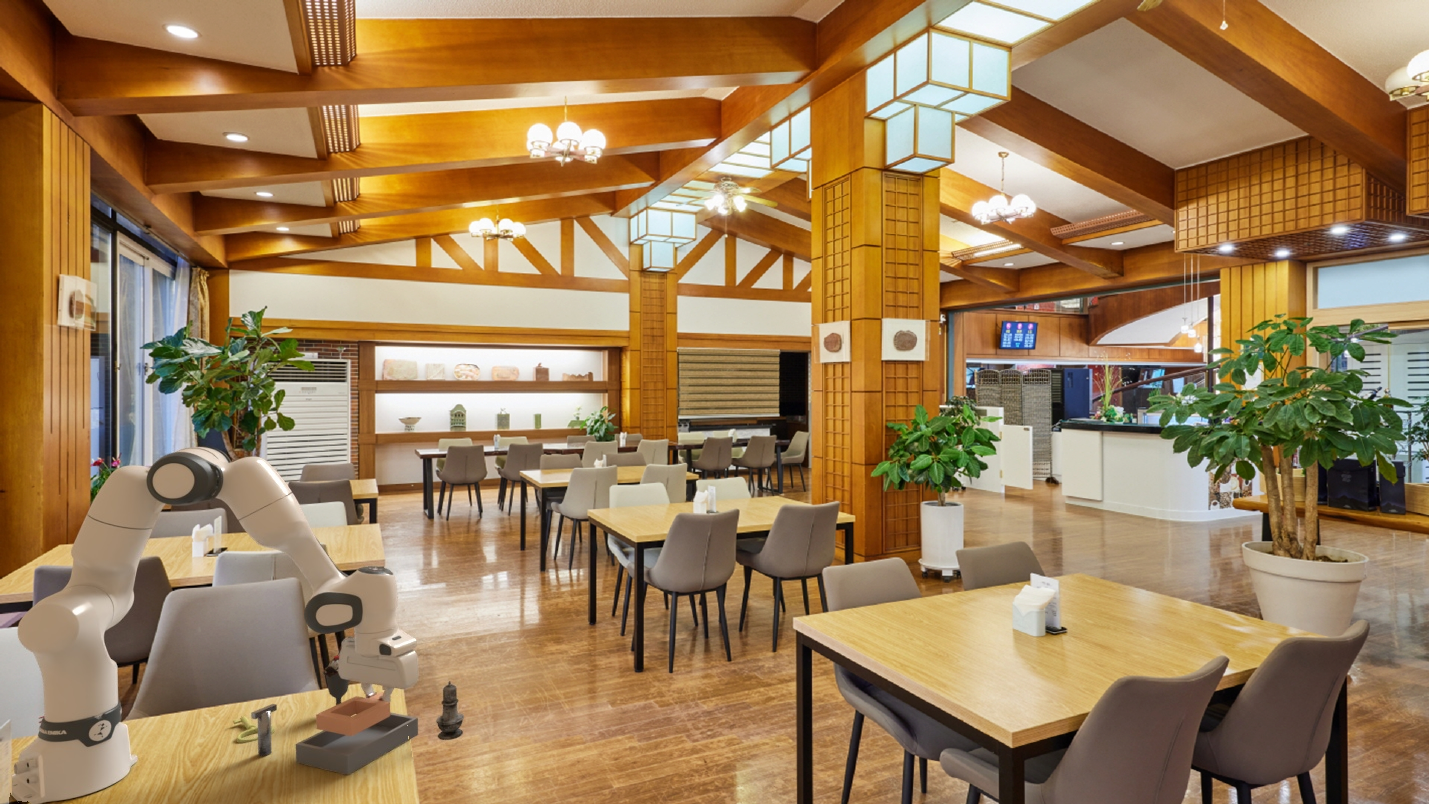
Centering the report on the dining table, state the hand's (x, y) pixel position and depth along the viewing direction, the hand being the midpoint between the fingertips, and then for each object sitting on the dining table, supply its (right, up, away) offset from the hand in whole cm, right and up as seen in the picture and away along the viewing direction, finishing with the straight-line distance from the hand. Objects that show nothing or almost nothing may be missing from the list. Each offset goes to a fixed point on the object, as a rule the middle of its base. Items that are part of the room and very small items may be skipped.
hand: (378, 702), depth 162 cm
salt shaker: (+16, -8, +1) cm, 17 cm away
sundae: (-16, -8, +14) cm, 23 cm away
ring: (-2, -2, -4) cm, 5 cm away
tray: (-2, -8, -5) cm, 9 cm away
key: (-31, -9, +4) cm, 32 cm away
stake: (-21, -8, -7) cm, 24 cm away
